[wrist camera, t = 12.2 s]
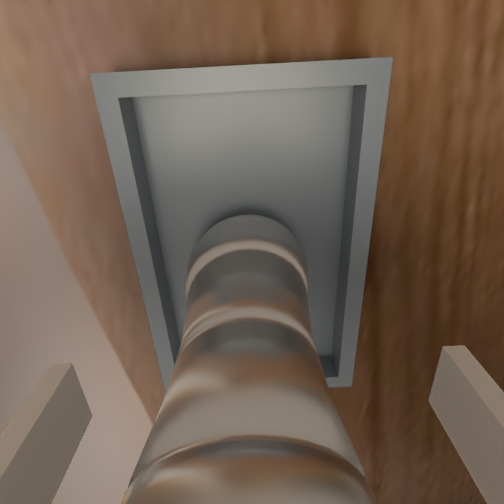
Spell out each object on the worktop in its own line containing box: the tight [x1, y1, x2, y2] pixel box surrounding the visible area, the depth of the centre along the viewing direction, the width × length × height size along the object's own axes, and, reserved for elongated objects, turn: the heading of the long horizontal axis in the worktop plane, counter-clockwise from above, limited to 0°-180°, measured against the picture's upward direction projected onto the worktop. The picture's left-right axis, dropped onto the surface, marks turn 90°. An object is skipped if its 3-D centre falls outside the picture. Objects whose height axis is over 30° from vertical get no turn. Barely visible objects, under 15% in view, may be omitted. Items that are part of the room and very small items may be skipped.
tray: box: [90, 57, 393, 391], centre depth 20 cm, size 20×13×3 cm, turn 3°
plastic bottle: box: [121, 214, 377, 504], centre depth 12 cm, size 6×7×20 cm
